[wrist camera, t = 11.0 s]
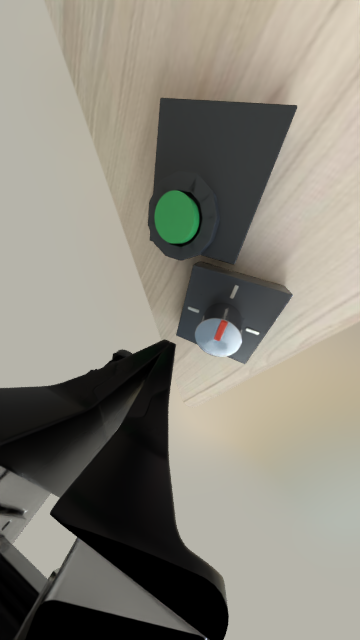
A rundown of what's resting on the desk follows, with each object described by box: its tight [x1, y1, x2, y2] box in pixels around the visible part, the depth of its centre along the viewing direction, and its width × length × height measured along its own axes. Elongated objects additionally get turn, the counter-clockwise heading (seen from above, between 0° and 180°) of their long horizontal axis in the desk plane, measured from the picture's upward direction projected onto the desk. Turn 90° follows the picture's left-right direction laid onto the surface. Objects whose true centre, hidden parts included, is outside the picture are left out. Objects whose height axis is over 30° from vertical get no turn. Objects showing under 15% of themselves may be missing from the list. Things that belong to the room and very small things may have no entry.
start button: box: [155, 190, 200, 244], centre depth 13 cm, size 4×4×2 cm
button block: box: [148, 98, 297, 264], centre depth 13 cm, size 10×11×4 cm
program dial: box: [195, 303, 242, 357], centre depth 15 cm, size 4×4×4 cm
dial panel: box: [176, 262, 293, 364], centre depth 18 cm, size 10×10×3 cm
